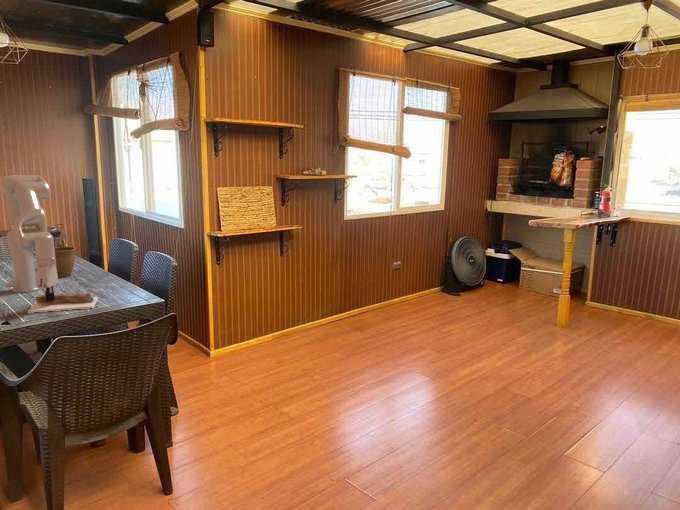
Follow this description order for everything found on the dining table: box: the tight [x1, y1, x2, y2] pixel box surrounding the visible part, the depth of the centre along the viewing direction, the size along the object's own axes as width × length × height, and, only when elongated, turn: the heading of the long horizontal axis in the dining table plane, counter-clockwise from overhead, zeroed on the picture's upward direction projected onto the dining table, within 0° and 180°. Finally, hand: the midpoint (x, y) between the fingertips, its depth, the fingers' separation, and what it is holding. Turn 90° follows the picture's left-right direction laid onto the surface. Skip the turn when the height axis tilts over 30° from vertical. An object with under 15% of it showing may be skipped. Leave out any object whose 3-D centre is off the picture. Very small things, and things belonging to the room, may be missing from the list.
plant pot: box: [54, 246, 77, 278], centre depth 282 cm, size 15×15×16 cm
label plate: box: [27, 296, 99, 314], centre depth 229 cm, size 26×16×2 cm, turn 108°
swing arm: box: [35, 292, 94, 303], centre depth 230 cm, size 24×3×3 cm, turn 101°
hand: (50, 300), depth 226 cm, fingers closed
